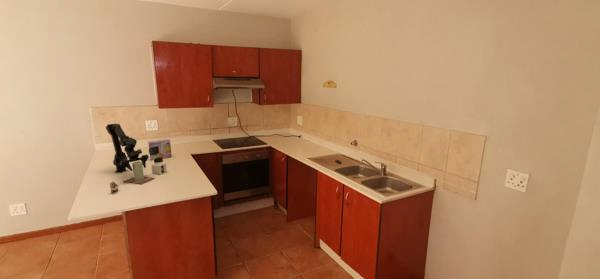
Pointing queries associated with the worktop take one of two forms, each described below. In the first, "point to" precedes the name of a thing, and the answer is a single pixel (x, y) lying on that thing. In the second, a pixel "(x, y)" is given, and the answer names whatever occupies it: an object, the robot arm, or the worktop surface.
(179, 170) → the worktop surface
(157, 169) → the container
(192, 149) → the worktop surface
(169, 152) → the cake pan box
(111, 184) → the architectural model
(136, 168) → the sage block
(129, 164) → the robot arm
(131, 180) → the walnut board
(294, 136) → the worktop surface
